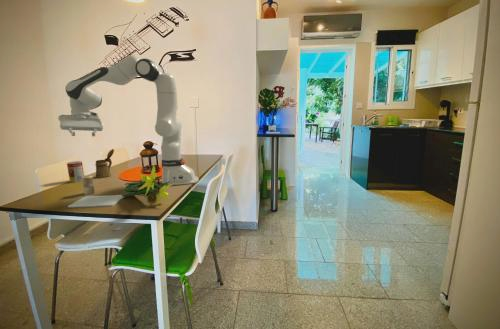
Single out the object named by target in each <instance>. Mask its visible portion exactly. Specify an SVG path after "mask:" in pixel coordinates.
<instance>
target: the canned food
mask: <svg viewBox="0 0 500 329" xmlns="http://www.w3.org/2000/svg"><path fill="white" fill-rule="evenodd" d="M66 166H67V173H68V178H69V182H70V183H79V182H83V181H82V177H85V172H84V165H83V162H82V161H81V160H79V161H77V160H76V161H68V162H67V163H66Z"/></svg>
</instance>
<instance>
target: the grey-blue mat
mask: <svg viewBox="0 0 500 329" xmlns="http://www.w3.org/2000/svg"><path fill="white" fill-rule="evenodd" d="M122 195H123V194H115V195H114V194H113V195H111V194H110V195H84V197H82V198H79V199H78V200H76V201H75V202H73V203H71V204H69V205H68V206H67V208H89V207H90V208H93V207H96V208H97V207H114V206H115V205H117V204H118V203H119V202H120V201H122V200H123V199H124V198H125V197H126V196H124V197H123V196H122Z"/></svg>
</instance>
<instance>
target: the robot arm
mask: <svg viewBox="0 0 500 329" xmlns="http://www.w3.org/2000/svg"><path fill="white" fill-rule="evenodd" d="M138 76H139V77H140V78H142V79H143V80H146V81H147V82H148V81H149V82H152V83H154V84H155V87H156V101H157V102H156V104H157V113H156V123H155V126H154V130H155V132H156V134H157V135H159V136H161V137H162V140H161V148H160V150H161V169H162V175H161V176H162V177H161V184H164V183H166V182H169V181H170V182H169V183H168V184H166V186H167V185H171V184H172V185H171V186H177V185H187V184H188V185H189V184H190V185H191V184H196V183H197V182H199V179H200V178H199V176H196V175H195V171H194V169H193V168H191V167H190V166H188V165H187V164H185V159H184V158H182V155H181V153H182V152H181V139H182V138H181V136H182V123H181V122H180V121H179V120H178V119H177V111H178V98H177V97H178V93H177V91H178V90H177V85H176V80H175V78H174V76H173V75H172V74H170V73H166V72H165V70H164V68H163V67H162V66H161V65H160V64H158V63H157V62H156V61H154V60H151V59H149V58H141V59H140V58H139V57H138V56H136V55H132V54H131V55H128V56H127V57H124V58H122V59H121V60H120V61H118V62H117V63H115V64H113V65H110V66H101V67H99V68H96V69H94V70H92V71H91V72H88V73H87V74H85V75H83V76H81V77H79V78H77V79H74V80H70V81H68V83H67V84H66V85H65V92H66V95H67V97H69V106H70V114H61V115H59V116H58V117H57V118H58V120H59V128H60V130H63V131H65V130H66V131H68V133H70V135H71V136H72V137H75V136H76V131H83V132H84V131H86V132H87V131H88V132H91V137H96V133H97V132H102V131H103V129H104V124H103V121H102V119H101V118H100V114H99V113H97V112H94V111H93V110H95V109H97V108H99V107H100V106H101V105H102V103H103V97H102V95H101V94H100V93H99V92H98V91H96V90H94V89H92V88H91V87H90V86H92V85H94V84H96V83H97V82H107V83H111V84H114V85H118V86H125V85H127V84H129V83H131V82H132V81H133V80H134V79H136V78H137V77H138Z"/></svg>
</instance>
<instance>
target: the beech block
mask: <svg viewBox="0 0 500 329" xmlns="http://www.w3.org/2000/svg"><path fill="white" fill-rule="evenodd" d="M81 182H82V186H83V191H84V196H90V195H94V194H96V192H95V186H94V179H93V175H84V177H82V181H81Z"/></svg>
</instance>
